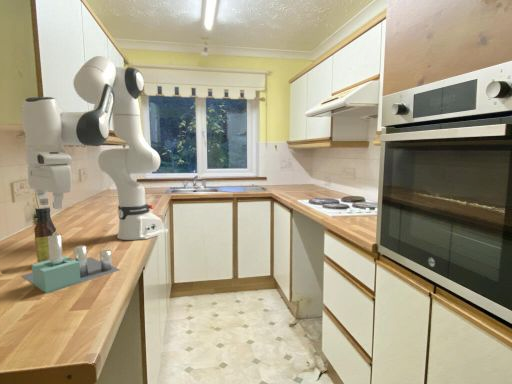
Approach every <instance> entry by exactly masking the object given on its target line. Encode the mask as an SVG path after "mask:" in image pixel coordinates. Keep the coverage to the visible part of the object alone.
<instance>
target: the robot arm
mask: <svg viewBox="0 0 512 384" xmlns="http://www.w3.org/2000/svg"><path fill="white" fill-rule="evenodd" d="M144 83H145V81H144V77H143V75H142V72H140V70H139V69H138V68H135V67H129V66H128V67H122V66H119V67H118V66H115V64H114V62H112V60H111V59H109V58H108V57H105V56H103V55H95V56H94V57H91V58H90V59H89V60H87V61H86V62H85V63H84V64H83V65H82V66H81V68H79V70H78V71H77V73H76V74H75V76H74V79H73V82H72V85H73V87H74V90H75V92H76V94H77V95H78V97H80V98H81V99H82V100H83V101H84V102H87V104H91V105H94V106H93V108H92V110H87V111H76V112H75V111H73V112H70V111H68V112H66V111H65V110H63V109H61V108H60V107H59V104H58V102H57V101H58V100H57V99H56V98H55V97H50V96H36V97H35V96H33V97H28V98H25V99H24V100H23V102H22V108H21V117H22V118H21V121H22V129H23V133H24V135H25V142H24V148H25V149H24V150H25V158H26V164H28V165H27V180H28V186H29V188H30V189H32V190H35V192H36V196H37V198H38V202H39V205H40V206H48V205H49V198H47V192H48V193H51V194H52V197H53V202H52V208H53V209H55V210H60V209H62V208H63V199H64V197H65V196H64V195H65V194H66V193H67V194H68V193H70V192H71V190H72V170H71V166H70V165H71V164H72V156H71V155H69V153H67V151H65V149H64V146H86V147H87V146H89V147H90V146H91V147H100V146H102V145H103V144H104V143H105V142H106V141H107V140H108V138H109V136H110V123H111V118H112V127H113V128H112V129H113V133H114V135H115V136H116V137H117V138H118V139H120V140H122V141H124V142H126V143H127V145H128V148H110V149H105V150H102V151H101V152H100V154H99V155H98V158H97V160H98V161H97V163H98V166H99V168H100V170H101V171H102V172H103V173H105V174H106V175H108V177H110V178H111V180H112V181H113V182H114V183H113V184H115V187H116V190H117V196H118V206H117V208H118V209H117V210H118V212H117V213H118V218H119V224H118V232H117V237H116V238H117V239H119V240H124V241H132V240H148V239H151V238H154V237H157V236H160V235H162V234H166V233H169V228H167V227H164V223H163V220H162V218H161V217H159V216H157V215H155V214H154V213H153V212H152V211H150V210H153V209H154V208H155V206H154V204H151V203H149V204H147V202H146V201H147V200H146V189H145V187H144V185H143V184H141V183H140V182H138V181H135V180H134V179H133V177H132V175H131V174H133V175H134V174H135V175H136V174H139V175H140V174H151V173H155V172H157V171H158V169H159V168H160V166H161V157H160V154H159V153H158V151H157V150H155V149H154V148H153V147H151V146H150V145H149V143H148V142H147V141H146V139H145V136H144V135H143V134H144V133H143V127H142V121H141V109H140V104H139V100H138V99H139V96H141V94H142V92H143V91H144V87H145V84H144Z"/></svg>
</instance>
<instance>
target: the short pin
mask: <svg viewBox="0 0 512 384" xmlns="http://www.w3.org/2000/svg"><path fill="white" fill-rule="evenodd" d="M99 259H100V260H99V261H100V263H101V271H109V270H111V269H112V266H113V262H112V251H111V249H103V250H100V251H99Z"/></svg>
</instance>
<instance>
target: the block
mask: <svg viewBox="0 0 512 384" xmlns="http://www.w3.org/2000/svg"><path fill="white" fill-rule="evenodd" d="M31 271H32V272H31V273H32V274H33V283H34V285H33V286H35V287H36V286H37V287H36V288H37V289H39V290H40V291H42V292H44V293H45V294H49V293H48V292H50V293H52V292H51V291H54V290H57V289H60V288H63V287H66V286H69V287H71V286H70V285H72V286H74V285H73V284H75V285H77V284H76V283H78V284H80V283H79V282H81V278H80V266H79V262H78V261H76V260H75V259H73V258H71V257H69V256H67V255H63V264H61V265H57V266H53V267H50V260H47V261H43V262H39V263H38V262H36V263H32V264H31ZM66 288H67V287H66ZM63 289H64V288H63ZM60 290H61V289H60ZM57 291H58V290H57ZM54 292H55V291H54Z"/></svg>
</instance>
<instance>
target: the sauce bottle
mask: <svg viewBox="0 0 512 384" xmlns="http://www.w3.org/2000/svg"><path fill="white" fill-rule="evenodd" d="M35 214H36V220H37V222H36V224H35V226H34V229H33V230H34V231H33V232H34V240H35V242H34V243H35V249H36V258H37V263H39V262H43V261H47V260H50V259H49V244H48V236H49V235H54V234H58V231H57V228H56V226H55V224H54V223H53V220H52V218H51V207H50V206H40V207H36V208H35Z"/></svg>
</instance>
